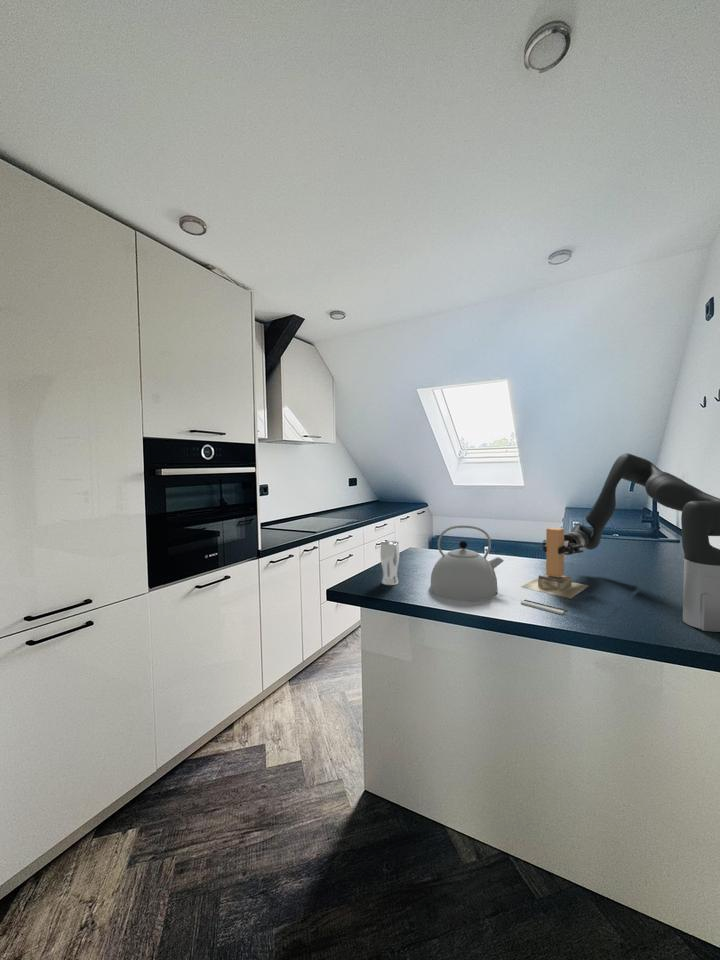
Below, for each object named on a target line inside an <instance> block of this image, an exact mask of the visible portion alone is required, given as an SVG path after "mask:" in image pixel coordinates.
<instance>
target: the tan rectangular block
mask: <svg viewBox="0 0 720 960" xmlns="http://www.w3.org/2000/svg"><path fill="white" fill-rule="evenodd" d="M545 532H546V535H545V536H546V538H545V540H546V546H547V552H545V553H546V554H545V555H546V556H545V560H546V561H545V562H546V564H545V571H546V572H545V574H546V575H548V576H554V577H560V576H565V554H564V553H563V554H558V548H559V547H562V546H564V534H565V528H564V527H554V526H553V527H548V528H546V531H545Z"/></svg>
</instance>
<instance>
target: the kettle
mask: <svg viewBox="0 0 720 960" xmlns="http://www.w3.org/2000/svg"><path fill="white" fill-rule="evenodd" d="M453 529H454V530H455V529H471V530H478V531H479V532H481V533H482V534H484V535H485V536H486V538H487V540H488V547H487V550H486V552H485V554H484V556H483V555H481V554H480V553H478V552H477V551H475V550H471V549H466V548H467V546H468V543H467V542H466V541H465V540H461V541H460V542H459V544H458V545H459V547H460V548H458V549H453V550H449V551H448V552H447V553H445V554H444V552H443V551H442V549H441V540H442V537H443V536H444V535H445V534H446V533H447V532H449V531H450V530H453ZM437 549H438V551H439V553H440V555H441V557H440V558H438V559H437V561H436V562H435V564H434V565H433V568H432V570H431V574H430V575H431V576H430V586H429V588H430V590H431V592H432V593H433V594H435V595H438V596H439V597H443V598H446V599H451V600H455V601H456V600H457V601H465V602H466V601H467V602H476V601H477V602H478V601H485V600H490V599H492V598H495V597H496V596H497V595H498V594H499V593H498V579H497V575H496V572H495V569H496V568H497V567H498V566H500V565H501V564H502V563H503V562H504V561H505V560H504V559H502V558H500V557H498V556H496V557H494V558H493V559H490V560H487V557H488V555H489V553H490V551H491V549H492V540H491V537H490V536H489V534H488V532H486V531H485V530H484V529H483V528H481V527H477V526H473V525H462V524H461V525H453V526H449V527H448V528H445V530H443V531H442V532H441V533H440V534H439V537H438V539H437Z"/></svg>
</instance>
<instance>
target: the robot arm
mask: <svg viewBox="0 0 720 960" xmlns="http://www.w3.org/2000/svg"><path fill="white" fill-rule="evenodd" d="M621 479H622V480H625V481H628V482H631V483H633V484H637V485H639V486H642V487H644V488H645V492H646V494H647V495H648V496H649V498H650V499H653V500H654V501H655V502H657V503H658V504H660V505H662V506H663V507H665V508H668V509H672V510H674V511H675V510H676V511H679V512H681V517H680V521H681V522H680V524H681V543H682V545H681V546H682V549H683V555H684V558H683V586H682V587H683V588H682V589H683V590H682V591H683V595H682V621H683V622H684V623H685V624H686V625H687V626H691V627H693V628H697V629H699V630H701V631H703V632H715V633H717V632H718V633H720V548H717V547H715V546H713V545H711V543H710V538H709V537H720V497H716V496H714V495H712V494H709V493H708V492H707V493H706V492H704V491H702V490H701V489H699V488H698V487H695V486H694V485H692V484H690V483H688V482H686V481H684V480H683V479H681V478H680V477H678V476H675V475H674V474H672V473H669V472H667V471H663V470H661V469H660V468H659V467H658V466H656V464H654V463H653V462H651V461H650V460H647V459H646V458H643V457H641V456H638V455H635V454H631V453H627V452H625V453H622V454H621V455H619V456H618V457H617V458H616V460H615V461H614V463H613V465H612V466H611V469H610V470H609V472H608V475H607V477H606V479H605V482H604V484H603V487H602V489H601V491H600V494H599V496H598V497H597V499H596V501H595V503H594V504H593V506H591V507H592V508H591V509H590V511H589V512H588V513H587V515H586V517H585V521H586V522H587V523H588V524H589V525H590V527H592V529H593V530H592V529H590V528H588V527H586V526H584V525H582V524H577V525H575V526H573V528H572V529H571V531H569V532H568V531H567V532H566V533H565V532H564V546H562V547H559V548H558V554H563V553H564V556H565V555H566V556H571V555H574V554H580V553H584V549H587V550H595V549H597V548H598V547H599V545H600V542H601V539H602V536H603V532H604V529H605V527H606V525H607V524H608V523H609V521H610V519H611V518H612V516H613V515H614V512H615V511H616V504H617V503H616V501H617V500H616V499H617V498H616V492H617V491H616V490H617V488H618V484H619V482H621ZM542 551H543V552H544V553H546V552H547V546H546V539H543V540H542Z"/></svg>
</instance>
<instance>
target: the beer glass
mask: <svg viewBox="0 0 720 960" xmlns="http://www.w3.org/2000/svg"><path fill="white" fill-rule="evenodd" d="M379 554H380V564H381V567H382V579H381V584H382V585H385V586H396V585H398V584H399V578H398V568H399V563H400V545H399V542H398V541H394V540H385V541H381V542H380V551H379Z"/></svg>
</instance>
